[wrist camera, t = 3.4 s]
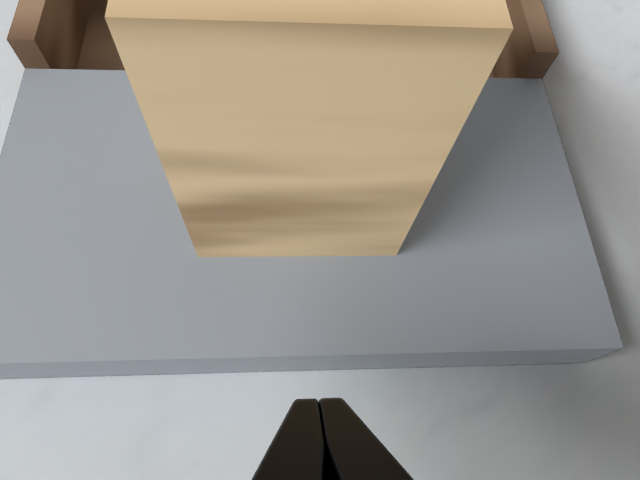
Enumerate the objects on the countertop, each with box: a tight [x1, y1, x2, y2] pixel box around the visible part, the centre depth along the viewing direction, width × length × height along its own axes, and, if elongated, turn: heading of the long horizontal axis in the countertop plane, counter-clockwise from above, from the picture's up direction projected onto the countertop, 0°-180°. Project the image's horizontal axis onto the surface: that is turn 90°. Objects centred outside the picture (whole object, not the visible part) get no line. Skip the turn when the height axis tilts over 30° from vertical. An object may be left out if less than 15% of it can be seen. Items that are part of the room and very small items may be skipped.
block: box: [105, 0, 513, 257], centre depth 14 cm, size 7×7×10 cm
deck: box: [0, 68, 624, 379], centre depth 20 cm, size 12×22×2 cm, turn 92°
